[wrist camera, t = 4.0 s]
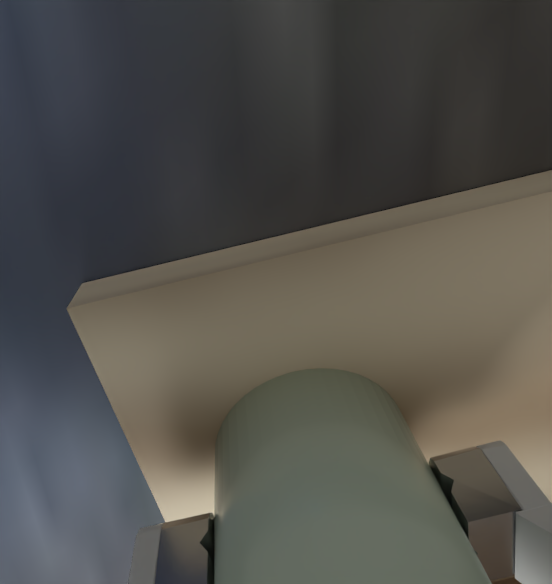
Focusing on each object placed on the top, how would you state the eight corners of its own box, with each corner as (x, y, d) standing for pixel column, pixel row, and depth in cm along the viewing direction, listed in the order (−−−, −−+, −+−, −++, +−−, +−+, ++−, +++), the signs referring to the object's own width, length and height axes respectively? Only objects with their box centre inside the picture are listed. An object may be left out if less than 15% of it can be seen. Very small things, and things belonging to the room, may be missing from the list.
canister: (190, 396, 11) (167, 690, 6) (394, 346, 11) (549, 594, 6) (241, 534, 13) (257, 839, 8) (412, 491, 13) (537, 768, 8)
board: (82, 283, 10) (66, 308, 9) (706, 132, 11) (762, 140, 9) (285, 749, 20) (289, 788, 19) (610, 668, 20) (632, 702, 19)
